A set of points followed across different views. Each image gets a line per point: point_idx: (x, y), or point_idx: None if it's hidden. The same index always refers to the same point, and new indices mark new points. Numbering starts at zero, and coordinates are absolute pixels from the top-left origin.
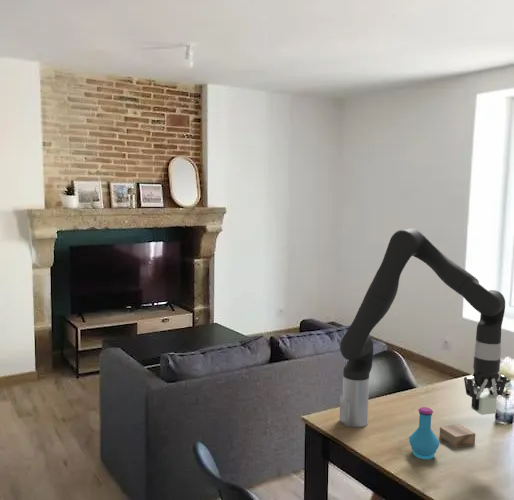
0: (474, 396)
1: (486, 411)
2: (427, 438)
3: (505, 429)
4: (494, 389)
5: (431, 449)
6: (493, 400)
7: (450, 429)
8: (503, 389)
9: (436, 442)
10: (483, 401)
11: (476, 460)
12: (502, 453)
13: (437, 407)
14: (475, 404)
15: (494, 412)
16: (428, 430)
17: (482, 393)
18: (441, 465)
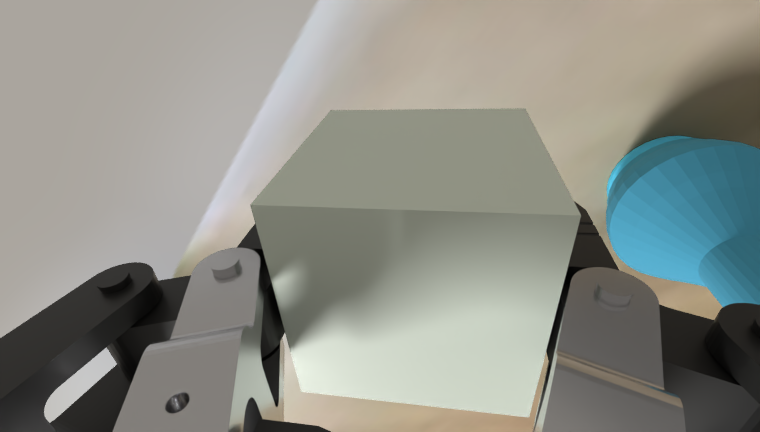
0: (665, 324)
1: (455, 120)
2: (758, 190)
3: (193, 265)
4: (208, 362)
5: (720, 140)
6: (326, 184)
7: None
8: (16, 334)
9: (682, 168)
10: (538, 188)
11: (455, 74)
12: (294, 109)
13: (343, 413)
14: (578, 230)
15: (342, 114)
16: (750, 232)
17: (389, 372)
18: (675, 62)
